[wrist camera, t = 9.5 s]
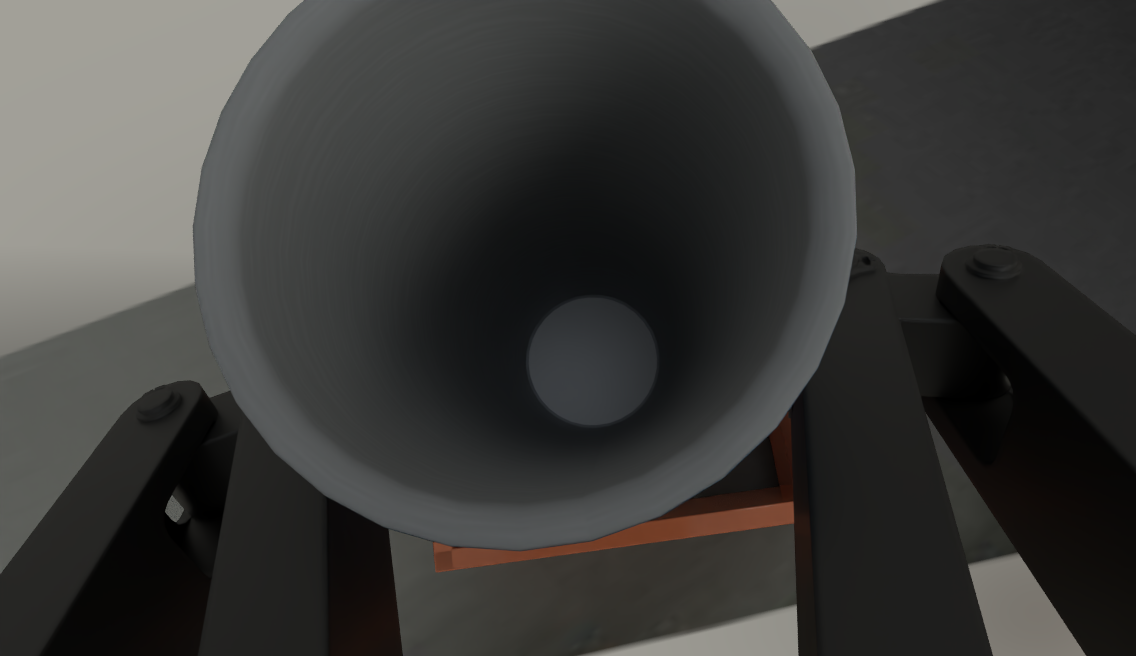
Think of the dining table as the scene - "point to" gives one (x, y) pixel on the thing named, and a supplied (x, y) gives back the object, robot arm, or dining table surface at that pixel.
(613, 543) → the rectangular frame
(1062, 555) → the robot arm
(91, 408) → the dining table surface
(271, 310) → the cup
